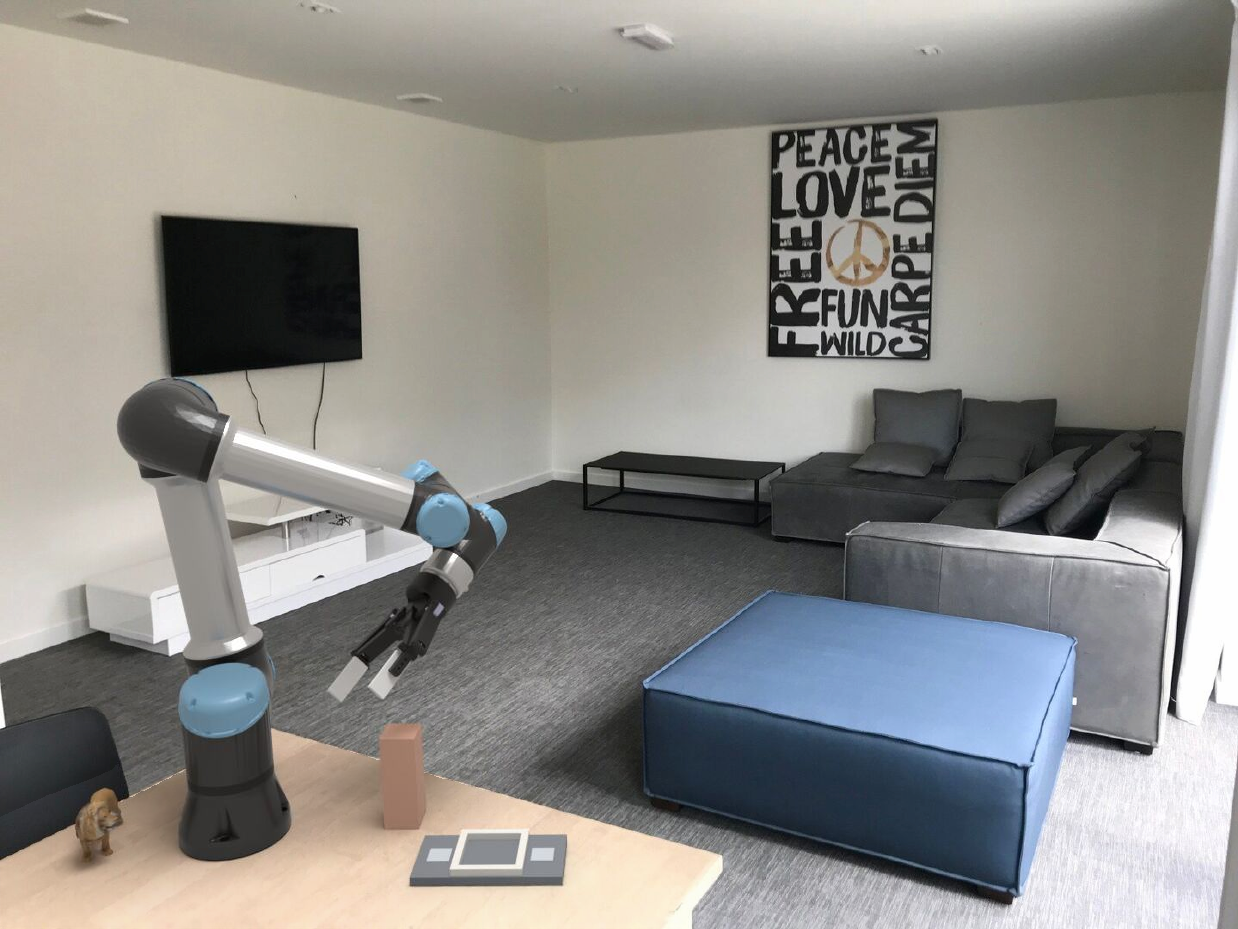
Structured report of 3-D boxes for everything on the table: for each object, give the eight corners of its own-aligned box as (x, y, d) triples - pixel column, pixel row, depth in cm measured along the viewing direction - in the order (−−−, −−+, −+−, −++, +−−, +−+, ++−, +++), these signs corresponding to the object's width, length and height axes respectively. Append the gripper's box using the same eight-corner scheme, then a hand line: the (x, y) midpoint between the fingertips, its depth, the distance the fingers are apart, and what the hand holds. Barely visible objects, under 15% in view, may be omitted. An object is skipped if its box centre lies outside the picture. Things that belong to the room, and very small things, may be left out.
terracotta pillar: (384, 829, 142) (379, 739, 140) (392, 811, 147) (387, 723, 145) (419, 829, 142) (414, 739, 140) (426, 810, 147) (421, 723, 145)
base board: (409, 886, 129) (409, 870, 129) (425, 843, 139) (424, 828, 138) (562, 885, 129) (562, 869, 128) (567, 842, 139) (566, 828, 138)
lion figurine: (122, 866, 134) (115, 805, 133) (77, 876, 132) (70, 815, 130) (124, 815, 147) (118, 759, 146) (84, 823, 145) (77, 767, 143)
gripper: (497, 592, 146) (413, 709, 133) (416, 609, 164) (335, 713, 152) (463, 558, 143) (374, 673, 131) (384, 579, 162) (300, 682, 149)
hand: (353, 695), depth 141 cm, fingers open, 13 cm apart
